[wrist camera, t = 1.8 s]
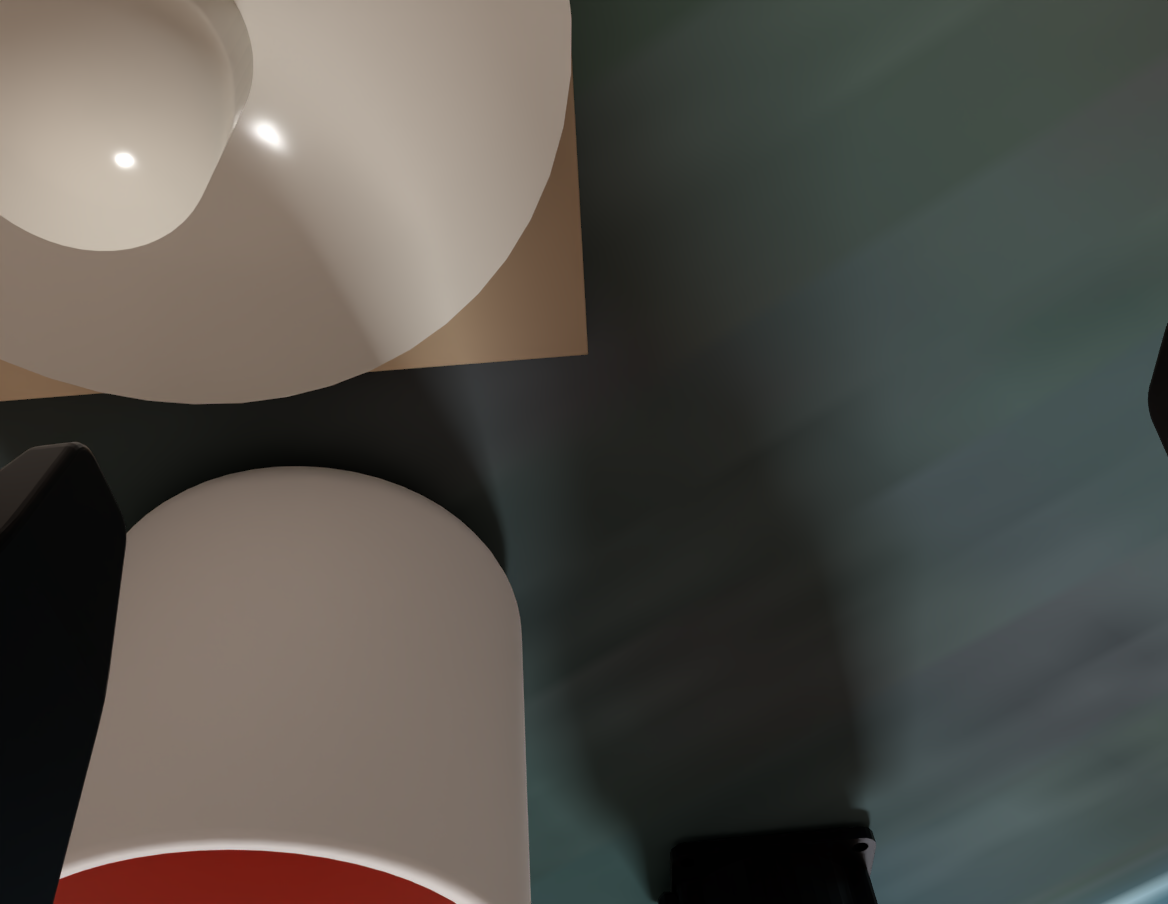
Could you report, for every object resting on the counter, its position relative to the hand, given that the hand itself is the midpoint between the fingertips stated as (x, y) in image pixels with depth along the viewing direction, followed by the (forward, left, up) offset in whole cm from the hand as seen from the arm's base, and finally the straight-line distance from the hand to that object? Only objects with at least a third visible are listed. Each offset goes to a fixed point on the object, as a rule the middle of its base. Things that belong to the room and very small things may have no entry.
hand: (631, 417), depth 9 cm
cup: (+7, +14, -13) cm, 20 cm away
